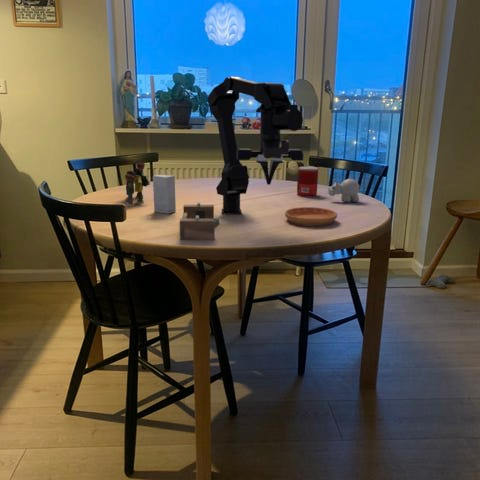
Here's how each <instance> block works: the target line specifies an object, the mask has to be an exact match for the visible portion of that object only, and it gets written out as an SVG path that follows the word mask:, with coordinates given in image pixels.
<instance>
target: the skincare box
mask: <svg viewBox="0 0 480 480" xmlns="http://www.w3.org/2000/svg"><path fill="white" fill-rule="evenodd" d="M175 179H176V177H175V175H169V174H168V175H167V174H156V175H153V176H152V188H153V209H154V210H153V211H154V212H155V213H161V214H166V215H167V214H172V213H175V212H176V210H177V209H176V205H177V204H176V181H175Z"/></svg>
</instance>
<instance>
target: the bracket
mask: <svg viewBox="0 0 480 480" xmlns="http://www.w3.org/2000/svg"><path fill="white" fill-rule="evenodd" d="M209 219H214V220H215V228H216V227H217V226H218V225H219V224H220V219H219V218H215V217H214V218H209Z"/></svg>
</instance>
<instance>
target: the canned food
mask: <svg viewBox="0 0 480 480" xmlns="http://www.w3.org/2000/svg"><path fill="white" fill-rule="evenodd" d="M318 181H319V168H318V167H316V166H299V167H298V169H297V187H296V193H297V196H299V195H300V197H306V196H311V197H316V196H317V194H318V183H319V182H318ZM315 195H316V196H315Z"/></svg>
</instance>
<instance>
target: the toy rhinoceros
mask: <svg viewBox="0 0 480 480" xmlns="http://www.w3.org/2000/svg"><path fill="white" fill-rule="evenodd" d="M333 183H334V184H333V185H332V186H331V187H330V186H328V188H327V191H328V195H329V196H330V197H334V196H335V195H340V194H341V195H340V196H341V198H340V199H341V201H343V203H351V202H352V203H358V202H360V197H359V192H360V184H359V183H358V181H357V180H355V179H353V178H347V179H344V180H343V181H342V182H341V183H338V182H336V181H334V182H333Z"/></svg>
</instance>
